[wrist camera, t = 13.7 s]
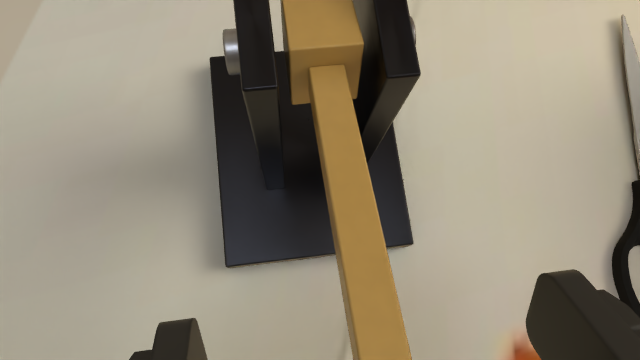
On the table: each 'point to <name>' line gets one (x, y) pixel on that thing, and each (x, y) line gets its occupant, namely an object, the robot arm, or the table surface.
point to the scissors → (636, 230)
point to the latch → (345, 168)
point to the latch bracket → (303, 137)
